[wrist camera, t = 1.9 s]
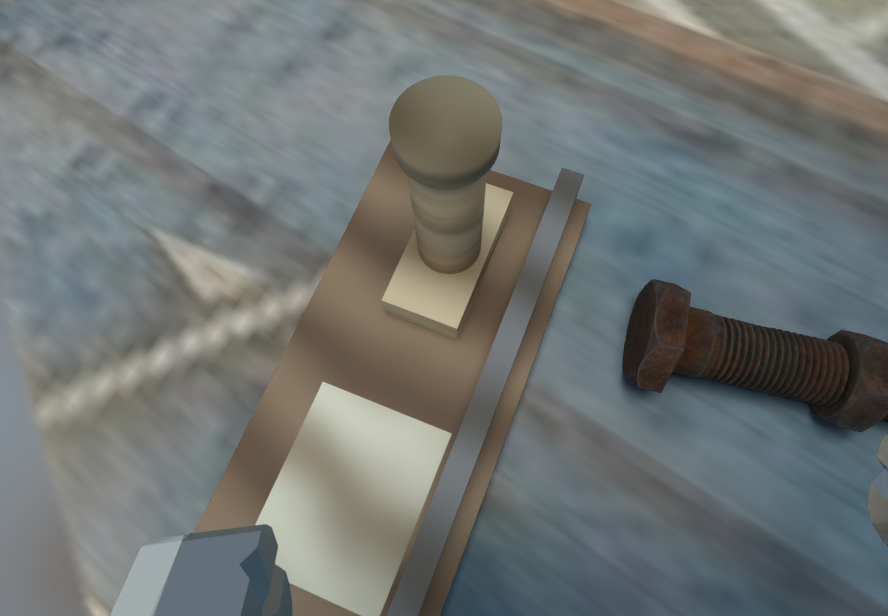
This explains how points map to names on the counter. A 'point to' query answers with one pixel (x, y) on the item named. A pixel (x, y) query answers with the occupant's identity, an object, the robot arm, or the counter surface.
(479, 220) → the stamp
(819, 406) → the bolt
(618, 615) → the counter surface
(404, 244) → the board
